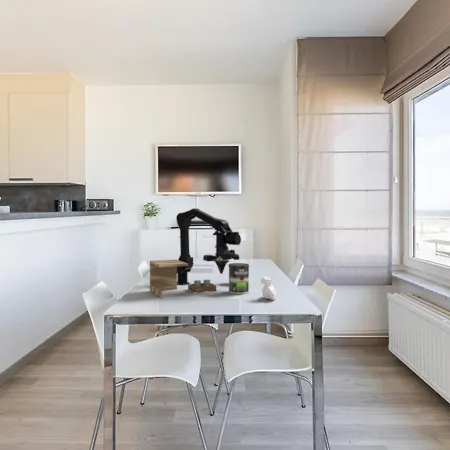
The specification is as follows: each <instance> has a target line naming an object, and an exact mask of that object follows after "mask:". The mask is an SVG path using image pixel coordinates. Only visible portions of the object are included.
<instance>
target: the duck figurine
mask: <svg viewBox="0 0 450 450" xmlns="http://www.w3.org/2000/svg"><path fill="white" fill-rule="evenodd" d="M260 283H261V284H262V285H264V286H263V287H262V288H261V290H262V291H261V293H262V297H263V298H264V299H265V300H272V301H274V300H276V299H277V296H278V295H277V291H276V290H275V287H274V286H273V285H272V279H271V278H270V277H268V276H263V277H262V278H261V280H260Z"/></svg>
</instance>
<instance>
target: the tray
mask: <svg viewBox="0 0 450 450" xmlns="http://www.w3.org/2000/svg"><path fill="white" fill-rule="evenodd" d="M187 290H188V291H190V290H191V291H190V292H192V291H193V292H192V293H194V292H198V293H205V292H204V291H209V292H217V285H216V284H214V283H212V282H211V280H210V279H203V282H202V281H201V280H198V279H197V280H194V281H193V283H190V284H187Z"/></svg>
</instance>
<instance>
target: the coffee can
mask: <svg viewBox="0 0 450 450" xmlns="http://www.w3.org/2000/svg"><path fill="white" fill-rule="evenodd" d="M249 271H250V264H248V263H245V262H244V263H243V262H234V263H233V262H232V263H228V293H229V294H233V295H245V294H248V293H250V291H249V288H250V287H249V285H250V284H249V281H250V279H249V275H250V272H249Z"/></svg>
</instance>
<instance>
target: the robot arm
mask: <svg viewBox="0 0 450 450" xmlns="http://www.w3.org/2000/svg"><path fill="white" fill-rule="evenodd" d="M175 217H176V224H177V227H178V228H179V242H180V243H179V244H180V254H179V257H178V259H177V260H179V261H182V262H185V263H188V266H177V285H178V286H179V285H188V284H191V282H189V279H188V277H189V276H188V273H190V272H191V270H192V269H193V266H194V257H193V256H191V254H190V227H191V225H192V220H194V219H196V218H197V219H198V220H199V219H200V220H201V221H203V222H204V223H207V224H209V225H210V226H211V228H213V230H215V231H214V232H213V233H212V235H213V236H215V245H214V248H215V253H214V254H204V255H203V257H202V258H203V259H202V260H203V261H205V262H214V263H215V265H216V266H217V269H218V271H219V274H221V275H223V274H224V271H225V268H226V265H228V264H229V262H230V260H232V259H233V260H234V261H237V260H239V261H240V255H239V254H237V253H236V250H235V249H230V250H229V246H240V244H241V242H242V237H241V235H240V232H239V231H233V230H232V228H231V227H230V225H229V224H230V223H229V222H228V220H226V219H222V218H218V217H215V216H212V215H210V214H209V213H206V212H205V211H203V210H201V209H200V208H191V209H189V210H187V211H183V212H178V213H177V214H176V216H175ZM228 245H229V246H228Z"/></svg>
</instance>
